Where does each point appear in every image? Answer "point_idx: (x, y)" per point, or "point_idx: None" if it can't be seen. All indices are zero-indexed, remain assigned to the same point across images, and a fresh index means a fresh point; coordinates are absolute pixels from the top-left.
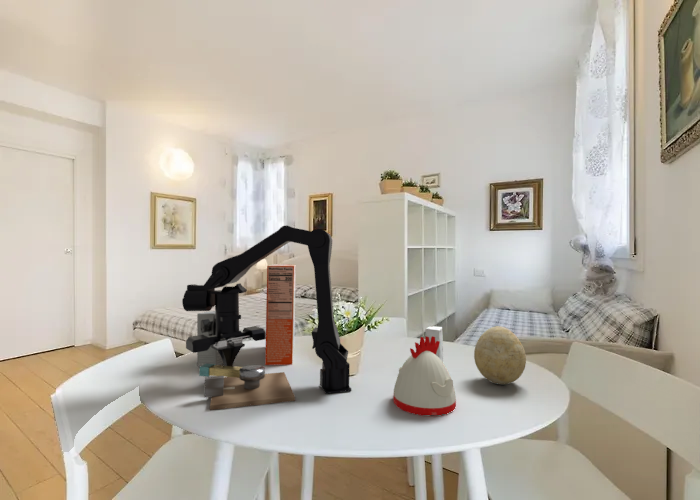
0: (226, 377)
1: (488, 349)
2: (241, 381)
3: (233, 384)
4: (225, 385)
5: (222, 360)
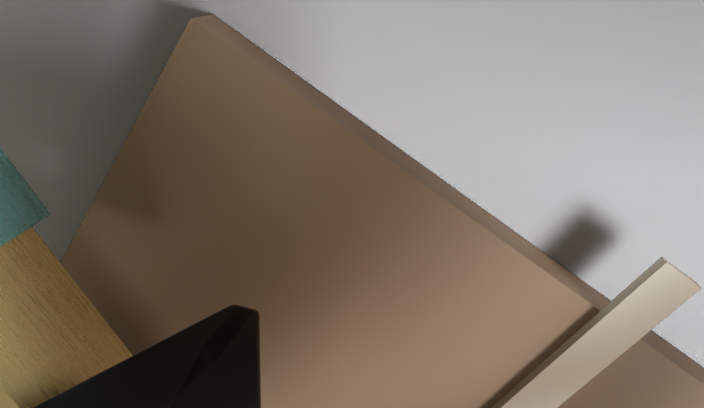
0: (333, 147)
1: None
2: (366, 404)
3: None
4: None
5: (45, 404)
